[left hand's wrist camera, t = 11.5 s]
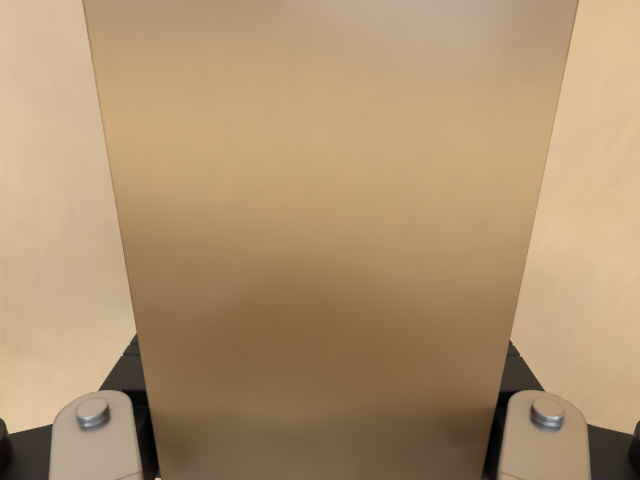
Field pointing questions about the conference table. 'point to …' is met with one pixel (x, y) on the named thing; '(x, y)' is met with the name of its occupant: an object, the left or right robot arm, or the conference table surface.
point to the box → (326, 222)
